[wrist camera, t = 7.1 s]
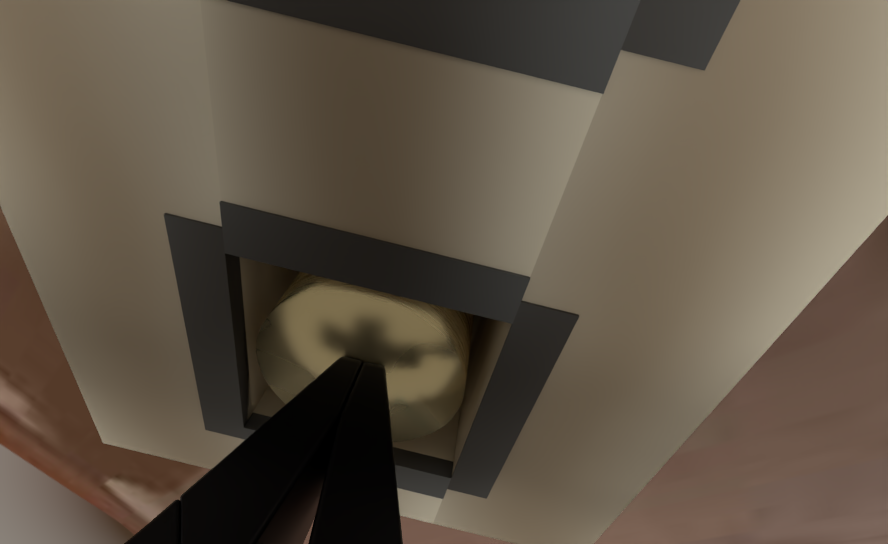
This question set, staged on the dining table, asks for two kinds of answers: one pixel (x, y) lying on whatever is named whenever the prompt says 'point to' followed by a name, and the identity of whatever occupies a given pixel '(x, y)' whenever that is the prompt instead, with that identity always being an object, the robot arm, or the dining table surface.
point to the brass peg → (370, 347)
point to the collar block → (444, 213)
